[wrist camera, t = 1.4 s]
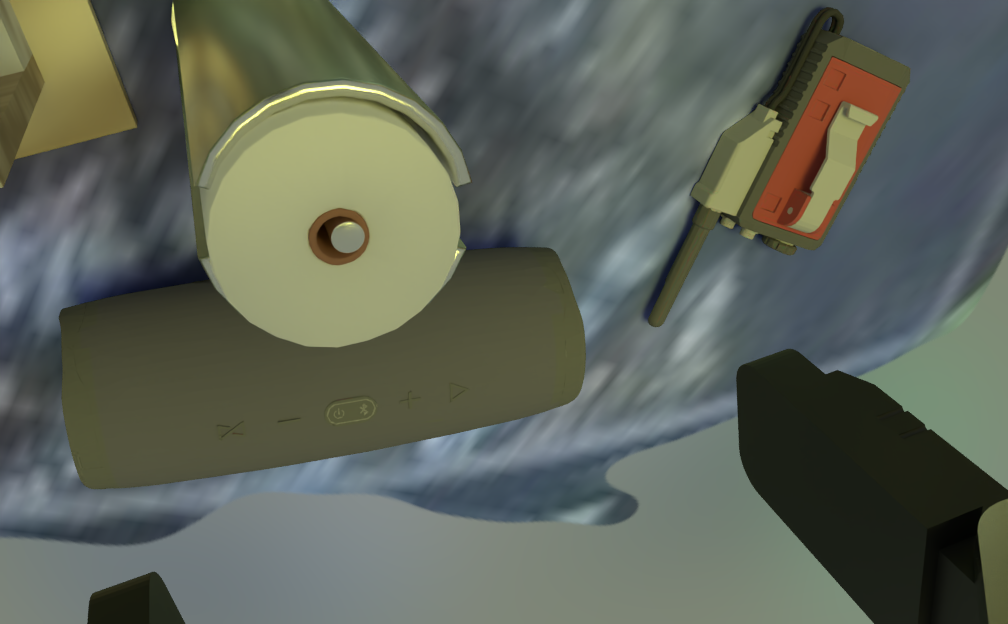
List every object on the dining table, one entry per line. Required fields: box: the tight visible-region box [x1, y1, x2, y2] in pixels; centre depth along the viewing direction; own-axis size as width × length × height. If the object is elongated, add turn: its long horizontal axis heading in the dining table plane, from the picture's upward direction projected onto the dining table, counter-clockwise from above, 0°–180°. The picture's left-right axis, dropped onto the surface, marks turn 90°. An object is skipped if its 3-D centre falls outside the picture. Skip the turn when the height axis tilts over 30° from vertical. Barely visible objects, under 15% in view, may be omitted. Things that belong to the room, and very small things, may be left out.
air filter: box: [171, 0, 472, 347], centre depth 31 cm, size 6×6×25 cm
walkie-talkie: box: [648, 7, 910, 327], centre depth 53 cm, size 9×4×20 cm
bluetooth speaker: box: [59, 247, 586, 489], centre depth 45 cm, size 23×9×10 cm, turn 89°
